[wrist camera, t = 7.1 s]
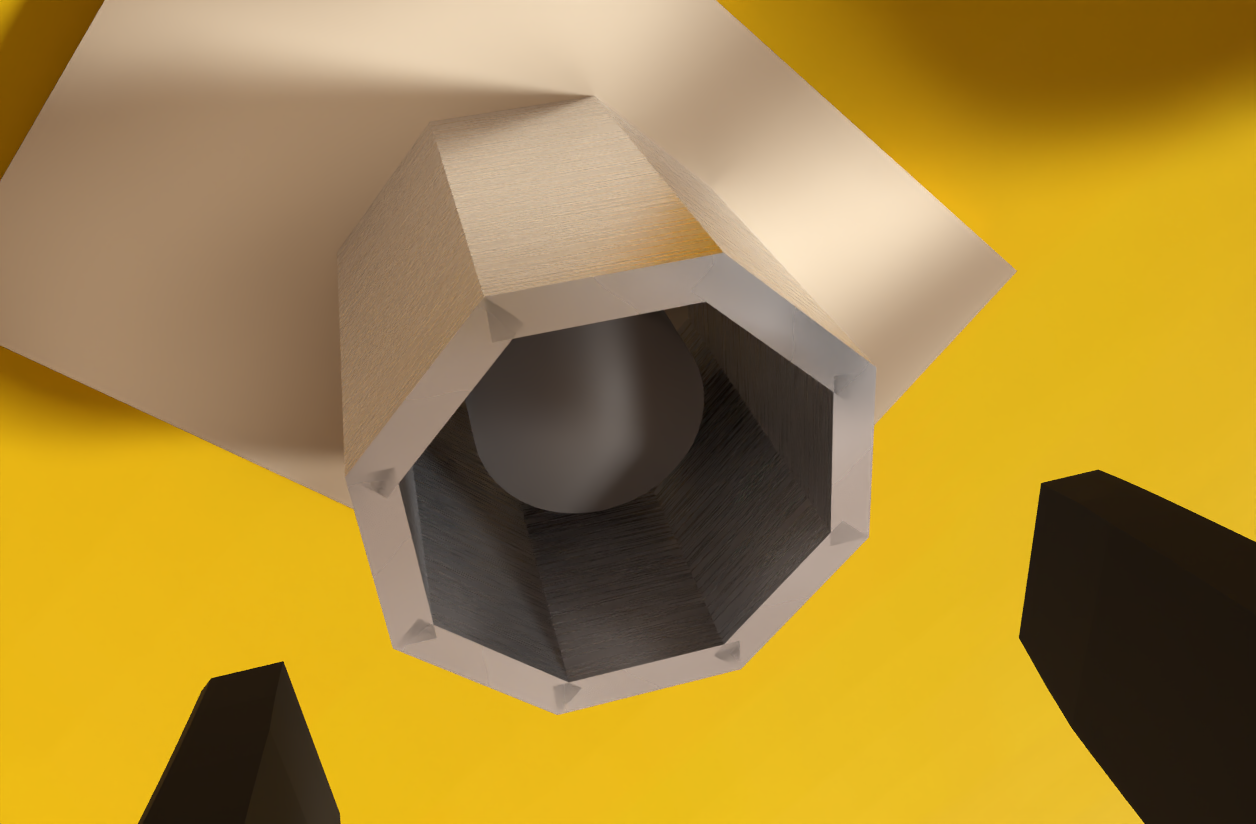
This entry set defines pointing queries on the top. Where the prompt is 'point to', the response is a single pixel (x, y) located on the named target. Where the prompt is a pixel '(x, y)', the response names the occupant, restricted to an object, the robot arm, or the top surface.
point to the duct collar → (563, 298)
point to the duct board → (359, 169)
